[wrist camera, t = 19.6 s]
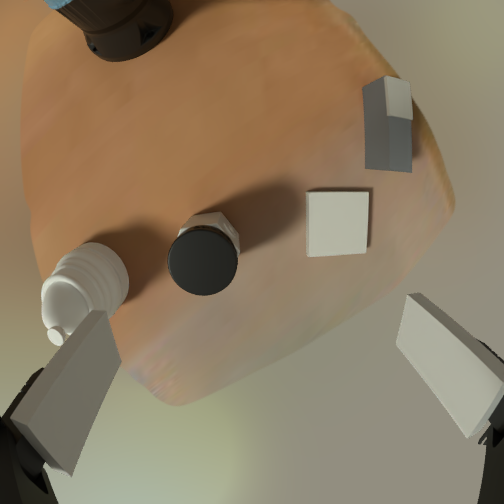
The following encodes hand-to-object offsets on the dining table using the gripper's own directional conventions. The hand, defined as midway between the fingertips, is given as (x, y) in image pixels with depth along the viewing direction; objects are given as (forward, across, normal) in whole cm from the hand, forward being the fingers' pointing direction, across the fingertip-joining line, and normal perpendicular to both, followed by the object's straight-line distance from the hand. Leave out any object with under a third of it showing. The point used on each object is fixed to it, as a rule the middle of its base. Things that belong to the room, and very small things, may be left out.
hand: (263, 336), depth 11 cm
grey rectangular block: (+33, +22, +14) cm, 42 cm away
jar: (+33, -5, -4) cm, 34 cm away
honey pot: (+33, -26, -10) cm, 43 cm away
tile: (+32, +15, +3) cm, 35 cm away
